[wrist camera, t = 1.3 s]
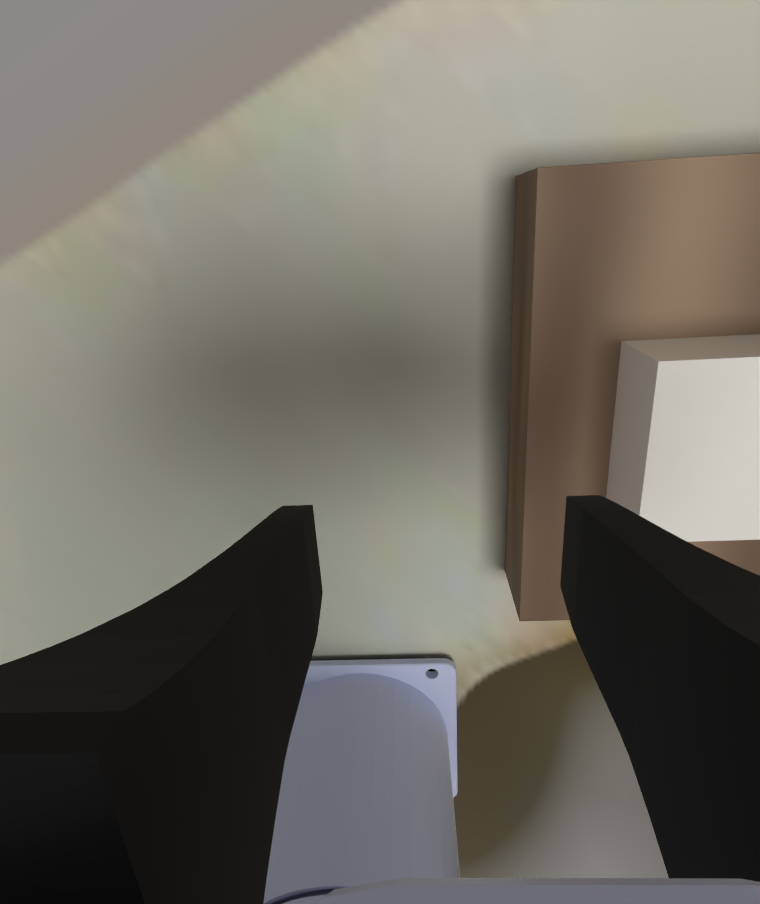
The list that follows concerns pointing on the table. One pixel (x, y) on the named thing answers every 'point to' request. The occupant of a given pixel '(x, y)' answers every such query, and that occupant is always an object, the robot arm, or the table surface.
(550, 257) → the walnut plate
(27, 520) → the table surface
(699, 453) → the block
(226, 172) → the table surface
